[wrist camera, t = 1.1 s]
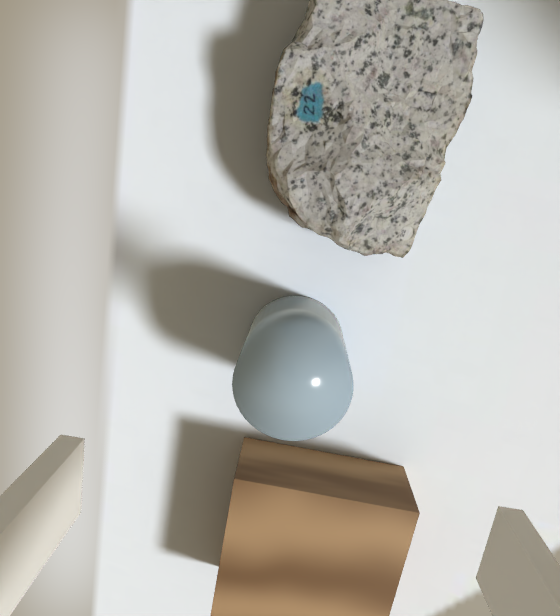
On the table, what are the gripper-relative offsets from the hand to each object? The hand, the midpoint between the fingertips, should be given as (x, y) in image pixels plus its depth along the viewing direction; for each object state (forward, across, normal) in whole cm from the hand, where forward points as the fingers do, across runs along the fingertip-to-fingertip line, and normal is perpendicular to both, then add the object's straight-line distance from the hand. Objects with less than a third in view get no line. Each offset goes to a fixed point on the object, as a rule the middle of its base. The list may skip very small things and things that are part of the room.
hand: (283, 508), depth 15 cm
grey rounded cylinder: (+16, 0, 0) cm, 16 cm away
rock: (+16, -2, +13) cm, 21 cm away
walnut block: (+16, +3, -13) cm, 21 cm away
